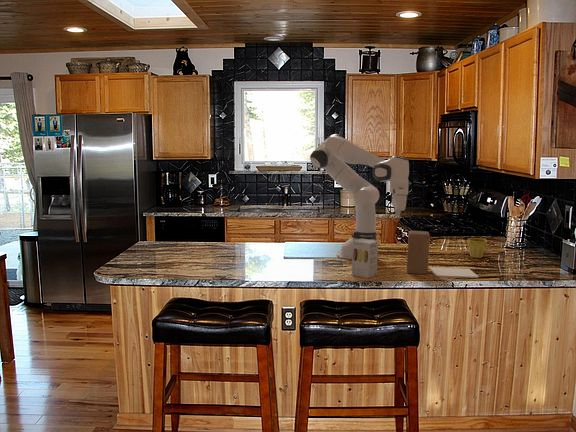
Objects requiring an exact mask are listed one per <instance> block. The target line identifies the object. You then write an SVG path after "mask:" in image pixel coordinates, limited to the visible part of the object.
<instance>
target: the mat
mask: <svg viewBox="0 0 576 432" xmlns="http://www.w3.org/2000/svg"><path fill="white" fill-rule="evenodd" d="M429 269H430V270H431V272H432V273H433V274H434V275H435V276H436V277H439V278H440V277H444V278H466V279H467V278H470V279H471V278H472V279H473V278H474V279H478V278H479V276H478V275H477V274H476V273H475V272H474V271H473V270H471V269H470V268H462V267H461V268H460V267H459V268H457V267H429Z"/></svg>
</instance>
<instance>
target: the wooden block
mask: <svg viewBox="0 0 576 432" xmlns="http://www.w3.org/2000/svg"><path fill="white" fill-rule="evenodd" d="M430 237H431V235H430V233H429V231H424V230H422V231H421V230H410V231H408V241H407V255H406V273H407V274H412V275H413V274H414V275H426V276H427V274H429V273H428V272H429V257H430V240H431V239H430Z"/></svg>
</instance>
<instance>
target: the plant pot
mask: <svg viewBox="0 0 576 432" xmlns="http://www.w3.org/2000/svg"><path fill="white" fill-rule="evenodd" d="M467 245H468V248H469V249H468V250H469V256H470V257H471V258H477V259H481V258H483V257H484V253H485V249H486V247H488V240H487V239H485V238H478V237H470V238H467Z"/></svg>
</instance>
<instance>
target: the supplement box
mask: <svg viewBox="0 0 576 432" xmlns="http://www.w3.org/2000/svg"><path fill="white" fill-rule="evenodd" d="M378 256H379V240H376V241H375V240H368V239H358V240H355V241H353V256H352V259H351V261H352V262H351V276H356V277H361V278H365V279H368V278H373V277H374V276H377V275H378V273H377V272H378Z"/></svg>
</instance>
